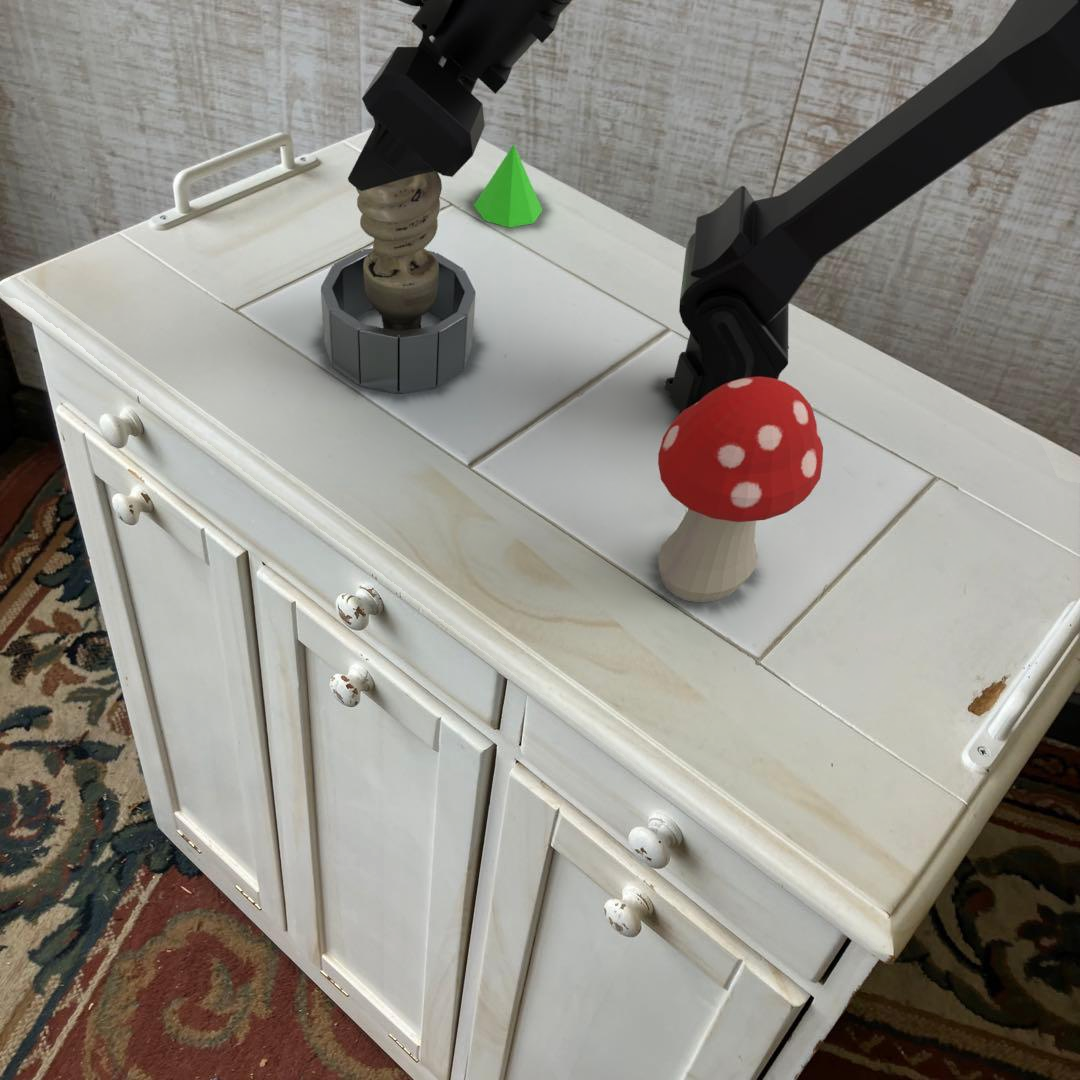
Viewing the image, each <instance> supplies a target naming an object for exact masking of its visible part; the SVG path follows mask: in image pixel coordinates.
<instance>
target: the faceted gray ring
mask: <svg viewBox="0 0 1080 1080" xmlns="http://www.w3.org/2000/svg"><path fill="white" fill-rule="evenodd" d="M373 250H374V249H373V247H372V248H365V249H361V250H358V251H356V252H354V253H352V254H349V255H348V256H346V257H344V258H343V259H341V260H339V261H337V262H335V263H334V264H333V265H331V268H330V269H329V271H328V273H327V274H326V277H325V278H324V280H323V282H322V284H321V286H320V300H321V313H322V331H323V344H324V348H325V350H326V353H327V356H328V360H330V364H331V367H333V369H334V370H336V371H338V372H339V373H340V374H341V375H343V376H345V377H346V378H348V379H349V380H350V381H352V382H353V383H355V384H356V385H357V386H360V387H362V388H367V389H372V390H377V391H382V392H387V393H393V394H398V393H399V394H408V393H415V392H419V391H420V392H421V391H425V390H432V389H433V390H434V389H436V388H439V387H440V386H442V385H443V384H445V383H447V382H448V381H449V380H452V379H453V378H454V377H456V376H457V375H459V374H461V373H462V372H463V371H464V370H465V368H466V365H467V364H468V360H469V357H470V354H471V352H472V348H473V338H474V326H475V325H474V323H475V309H476V290H475V288H474V286H473V284H472V281H471V279H470V278H469V276H468V274H467V272H466V269H464V268H463V267H461V266H460V265H458V264H456V263H455V262H454V261H452V260H450V259H448V258H447V257H445V256H443V255H442V254H440V253H438V252H435V251H431V250H428V251H429V252H431V253H432V254H433V255H434V256H435V258H436V259H437V262H438V265H439V278H438V290H437V296H436V299H435V302H434V304H433V306H432V307H431V308H430V309H429V310H428V311H427V312H426V313H430V314H431V315H433V316H435V317H436V318H438V319H439V320H441V321H439V322H438V323H436V324H434V325H432V326H426V327H425V326H424V327H421V328H417V329H410V330H403V331H396V330H391V329H386V328H383V327H381V326H379V327H378V326H375V325H369V324H365V323H363V322H361V321H360V320H358V319H357V317H359V316H361V315H362V314H364V313H366V312H368V311H372V310H375V309H374V308H373V307H372V305H371V304H370V302H369V301H368V298H367V296H366V293H365V285H364V270H363V264H364V260H365V258H366V256H367V255H368V254H370V253H371V252H372V251H373Z"/></svg>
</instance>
